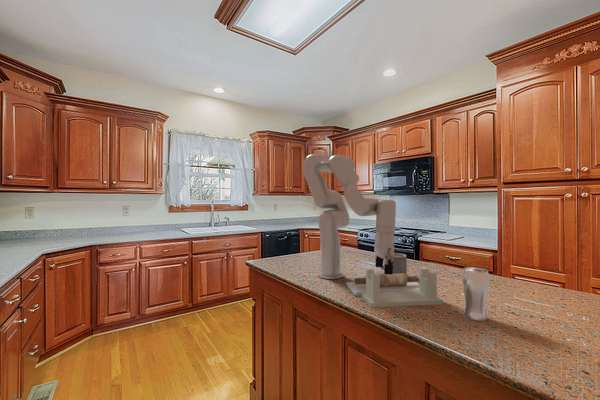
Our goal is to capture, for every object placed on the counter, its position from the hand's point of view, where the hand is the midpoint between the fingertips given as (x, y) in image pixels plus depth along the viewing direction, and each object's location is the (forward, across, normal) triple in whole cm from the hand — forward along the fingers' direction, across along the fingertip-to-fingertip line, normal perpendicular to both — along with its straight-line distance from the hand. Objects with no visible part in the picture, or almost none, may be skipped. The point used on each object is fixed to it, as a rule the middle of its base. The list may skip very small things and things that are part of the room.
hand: (383, 270), depth 115 cm
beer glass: (+6, +30, +18) cm, 35 cm away
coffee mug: (+8, -18, +12) cm, 23 cm away
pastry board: (+7, +1, +1) cm, 7 cm away
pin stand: (+7, +14, +1) cm, 16 cm away
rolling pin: (+6, 0, +1) cm, 6 cm away
